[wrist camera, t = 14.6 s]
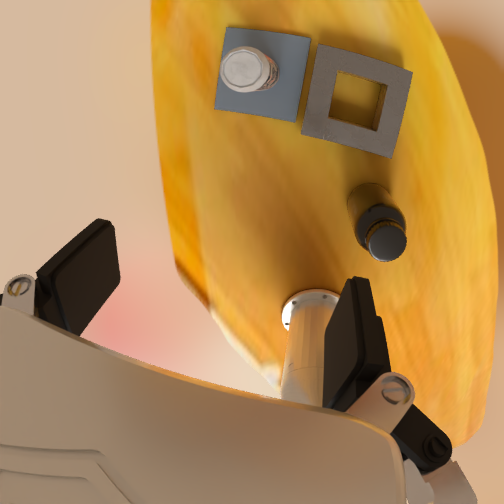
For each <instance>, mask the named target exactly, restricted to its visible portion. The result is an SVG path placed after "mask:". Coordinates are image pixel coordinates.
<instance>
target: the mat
mask: <svg viewBox="0 0 504 504" xmlns="http://www.w3.org/2000/svg"><path fill="white" fill-rule="evenodd" d="M310 42H311V38H307V37H302V36H296V35H290V34H284V33H278V32H270V31H262V30H253V29H242V28H229V27H226V33H225V39H224V45H223V51H222V58H221V62H222V59H223V58H224V56H225V55H226V54H227V53H228V52H229V51H231V50H233V49H235V48H238V47H243V46H247V47H253V48H256V49H258V50H259V51H261V52H262V53H264V54H265V55H267V56H268V57H269V58H271V59H272V60H273V61H274V62H275V63H276V64H277V65H278V67H279V71H280V75H279V80H278V81H277V83H276V84H275V85H274V86H273V87H272V88H270V89H268V90H263V91H251V92H237V91H234V90H232V89H230V88H229V87H228V86H227V85H226V84H225V83H224V82H223V80H222V78H221V75H220V71H219V78H218V85H217V93H216V100H215V108H214V109H217V110H225V111H232V112H239V113H246V114H252V115H258V116H264V117H270V118H275V119H280V120H285V121H290V122H295V121H296V116H297V111H298V106H299V101H300V95H301V90H302V85H303V80H304V74H305V69H306V63H307V58H308V53H309V47H310Z"/></svg>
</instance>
